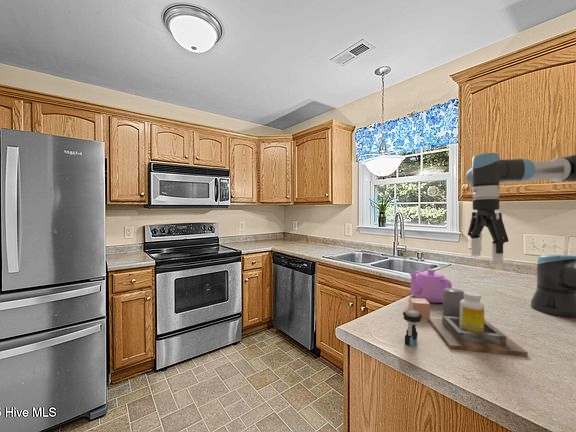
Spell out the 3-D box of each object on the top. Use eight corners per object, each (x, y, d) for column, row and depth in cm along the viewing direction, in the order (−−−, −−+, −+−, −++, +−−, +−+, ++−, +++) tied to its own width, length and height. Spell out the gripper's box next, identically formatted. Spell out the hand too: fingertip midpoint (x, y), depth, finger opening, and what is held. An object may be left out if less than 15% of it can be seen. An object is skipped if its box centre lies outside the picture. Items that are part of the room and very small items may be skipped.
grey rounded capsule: (459, 313, 106) (459, 288, 106) (467, 320, 99) (467, 294, 99) (440, 312, 108) (440, 287, 107) (446, 319, 101) (447, 293, 101)
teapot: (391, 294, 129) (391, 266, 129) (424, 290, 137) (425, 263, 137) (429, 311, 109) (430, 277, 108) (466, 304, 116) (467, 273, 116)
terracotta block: (424, 313, 106) (425, 298, 106) (429, 319, 101) (429, 303, 100) (408, 312, 108) (409, 297, 108) (412, 318, 102) (412, 302, 102)
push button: (408, 335, 87) (408, 305, 87) (425, 341, 84) (425, 310, 83) (399, 342, 83) (399, 311, 82) (417, 349, 79) (417, 316, 79)
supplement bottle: (488, 338, 83) (489, 297, 83) (464, 336, 85) (465, 296, 84) (477, 328, 90) (478, 291, 90) (455, 327, 91) (456, 290, 91)
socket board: (489, 325, 95) (489, 315, 95) (527, 356, 75) (527, 343, 75) (428, 321, 99) (428, 311, 99) (450, 348, 79) (450, 336, 79)
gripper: (457, 199, 105) (458, 253, 106) (494, 197, 81) (495, 266, 81) (478, 199, 104) (478, 253, 105) (522, 196, 80) (523, 267, 80)
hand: (486, 259), depth 93 cm, fingers open, 13 cm apart
